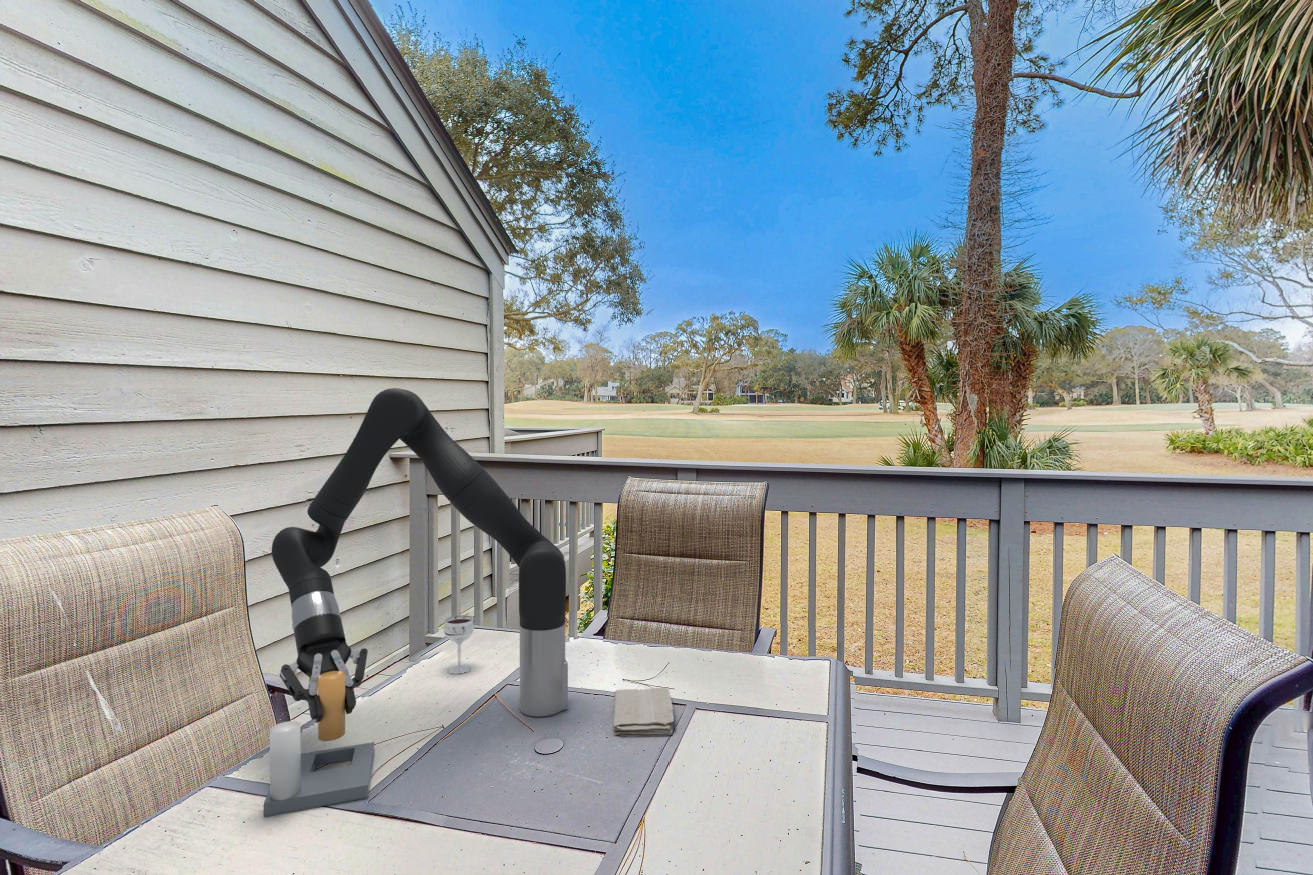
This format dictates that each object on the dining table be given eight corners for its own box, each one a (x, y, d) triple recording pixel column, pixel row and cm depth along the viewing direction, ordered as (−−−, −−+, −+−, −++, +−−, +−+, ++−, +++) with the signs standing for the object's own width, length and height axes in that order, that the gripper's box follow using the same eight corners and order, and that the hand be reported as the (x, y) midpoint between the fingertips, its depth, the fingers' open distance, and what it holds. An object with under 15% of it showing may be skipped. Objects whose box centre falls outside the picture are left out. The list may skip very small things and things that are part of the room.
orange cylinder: (346, 727, 108) (346, 669, 107) (343, 738, 104) (343, 678, 104) (320, 731, 106) (320, 672, 106) (316, 742, 102) (316, 681, 102)
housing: (374, 753, 111) (374, 685, 111) (367, 797, 98) (367, 720, 98) (283, 767, 106) (282, 697, 106) (263, 816, 93) (262, 736, 93)
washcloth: (612, 740, 117) (612, 724, 117) (612, 698, 134) (612, 684, 134) (676, 738, 117) (676, 722, 117) (668, 697, 135) (668, 682, 135)
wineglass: (461, 677, 144) (461, 625, 144) (437, 673, 146) (437, 621, 146) (480, 666, 150) (480, 616, 150) (456, 662, 153) (456, 613, 152)
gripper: (274, 620, 106) (289, 718, 97) (364, 605, 115) (385, 693, 106) (268, 642, 110) (282, 739, 101) (356, 626, 119) (375, 713, 110)
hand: (335, 715), depth 103 cm, fingers closed on orange cylinder, 4 cm apart
